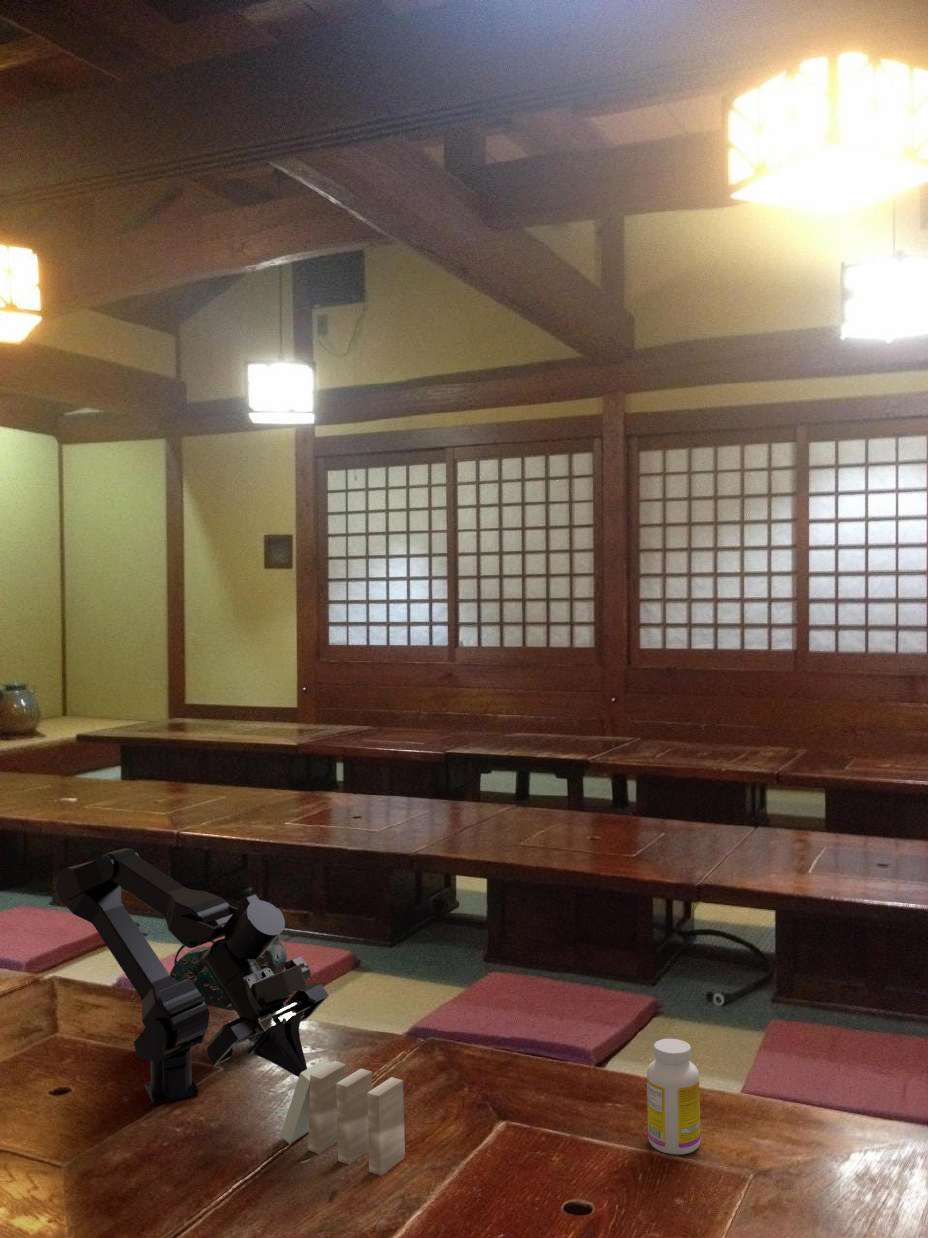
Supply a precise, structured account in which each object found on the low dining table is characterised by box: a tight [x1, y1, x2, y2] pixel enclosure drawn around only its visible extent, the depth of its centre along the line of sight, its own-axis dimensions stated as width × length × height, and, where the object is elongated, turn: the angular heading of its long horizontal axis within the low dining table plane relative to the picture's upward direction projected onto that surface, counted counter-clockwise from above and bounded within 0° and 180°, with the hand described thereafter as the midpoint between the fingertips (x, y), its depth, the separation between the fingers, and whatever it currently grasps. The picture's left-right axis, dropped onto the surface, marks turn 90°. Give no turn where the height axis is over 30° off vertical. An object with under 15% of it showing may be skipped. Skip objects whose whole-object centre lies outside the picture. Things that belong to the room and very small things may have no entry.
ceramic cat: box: [169, 935, 288, 1048], centre depth 178 cm, size 20×6×20 cm, turn 77°
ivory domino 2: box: [336, 1068, 373, 1165], centre depth 143 cm, size 2×5×10 cm, turn 147°
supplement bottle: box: [646, 1038, 701, 1156], centre depth 144 cm, size 7×7×13 cm
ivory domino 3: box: [367, 1076, 406, 1177], centre depth 140 cm, size 2×5×10 cm, turn 147°
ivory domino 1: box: [307, 1060, 347, 1155], centre depth 145 cm, size 2×5×10 cm, turn 147°
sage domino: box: [279, 1058, 331, 1145], centre depth 147 cm, size 2×5×10 cm, turn 147°
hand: (304, 1075), depth 147 cm, fingers closed
